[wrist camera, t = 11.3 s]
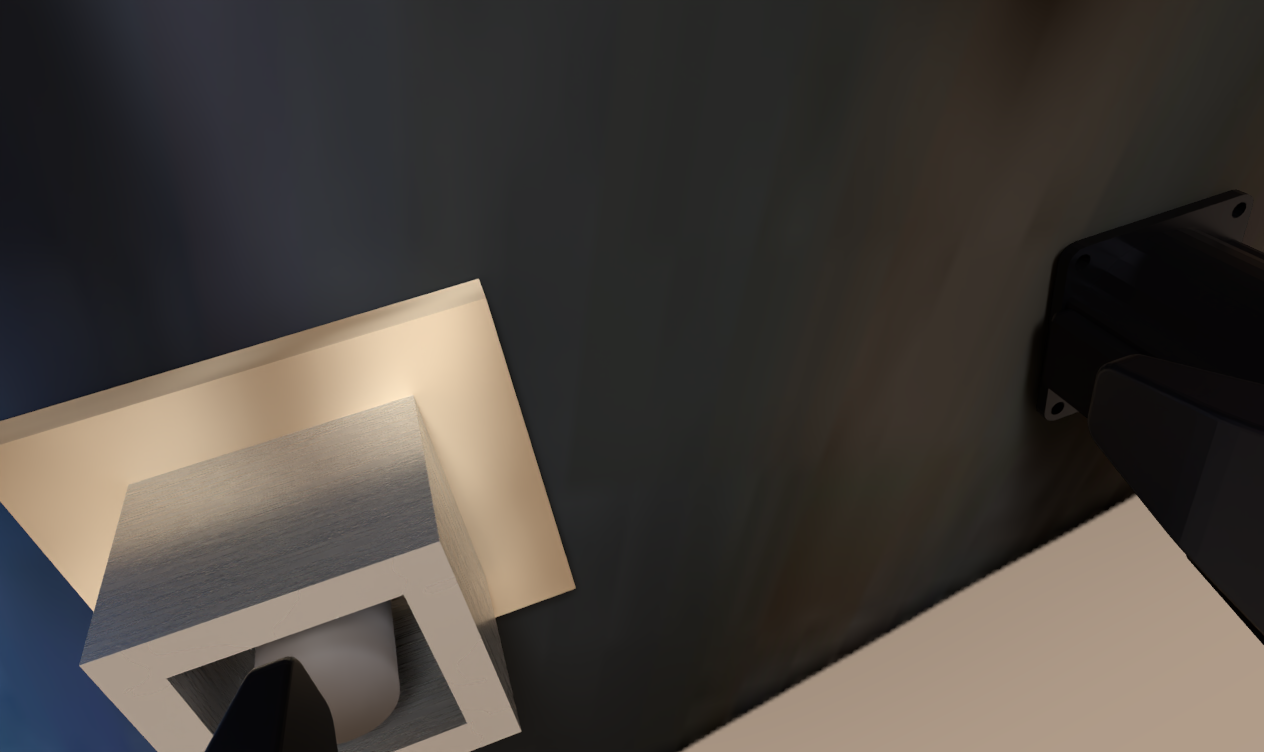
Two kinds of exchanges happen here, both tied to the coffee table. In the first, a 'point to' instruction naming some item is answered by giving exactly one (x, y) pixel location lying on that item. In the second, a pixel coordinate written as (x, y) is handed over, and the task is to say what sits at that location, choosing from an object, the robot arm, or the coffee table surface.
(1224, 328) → the robot arm
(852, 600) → the coffee table surface
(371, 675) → the post stand
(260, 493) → the white square hollow block
